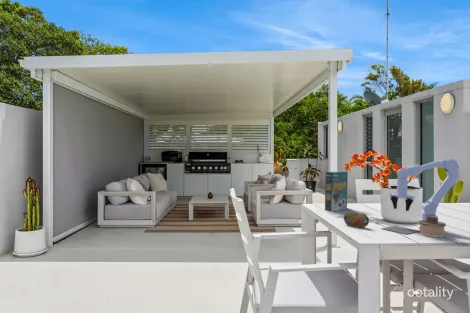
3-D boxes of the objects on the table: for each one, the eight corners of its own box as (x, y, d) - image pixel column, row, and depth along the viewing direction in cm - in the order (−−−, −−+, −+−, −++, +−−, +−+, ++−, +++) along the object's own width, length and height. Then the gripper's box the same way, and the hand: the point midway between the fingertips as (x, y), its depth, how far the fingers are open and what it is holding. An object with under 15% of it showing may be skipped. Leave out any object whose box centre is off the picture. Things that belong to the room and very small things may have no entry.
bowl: (426, 231, 189) (426, 221, 189) (447, 235, 180) (447, 224, 180) (416, 233, 183) (416, 223, 183) (437, 238, 174) (437, 227, 174)
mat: (395, 226, 201) (395, 225, 201) (420, 231, 189) (420, 230, 189) (381, 229, 193) (381, 228, 193) (406, 234, 180) (406, 233, 180)
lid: (425, 220, 190) (425, 214, 190) (450, 225, 179) (450, 218, 179) (413, 223, 183) (414, 216, 183) (438, 227, 172) (438, 220, 172)
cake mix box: (340, 207, 271) (341, 171, 271) (346, 208, 267) (347, 171, 266) (324, 209, 257) (325, 172, 257) (331, 210, 253) (332, 172, 252)
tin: (343, 224, 204) (343, 211, 204) (345, 223, 206) (346, 210, 206) (367, 228, 193) (367, 214, 193) (369, 228, 196) (369, 214, 196)
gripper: (387, 186, 204) (386, 208, 204) (410, 189, 192) (409, 212, 192) (393, 186, 208) (392, 207, 208) (416, 189, 196) (415, 211, 196)
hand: (401, 209), depth 201 cm, fingers open, 7 cm apart
